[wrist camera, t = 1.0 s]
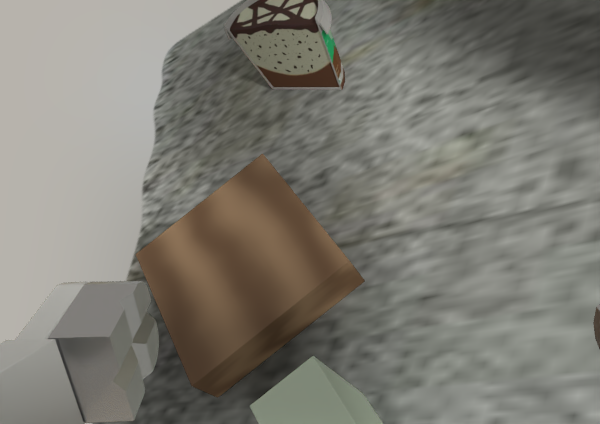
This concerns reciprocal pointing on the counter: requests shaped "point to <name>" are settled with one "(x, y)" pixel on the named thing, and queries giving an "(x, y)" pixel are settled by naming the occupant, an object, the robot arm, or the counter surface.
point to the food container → (288, 43)
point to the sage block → (314, 399)
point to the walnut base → (243, 276)
